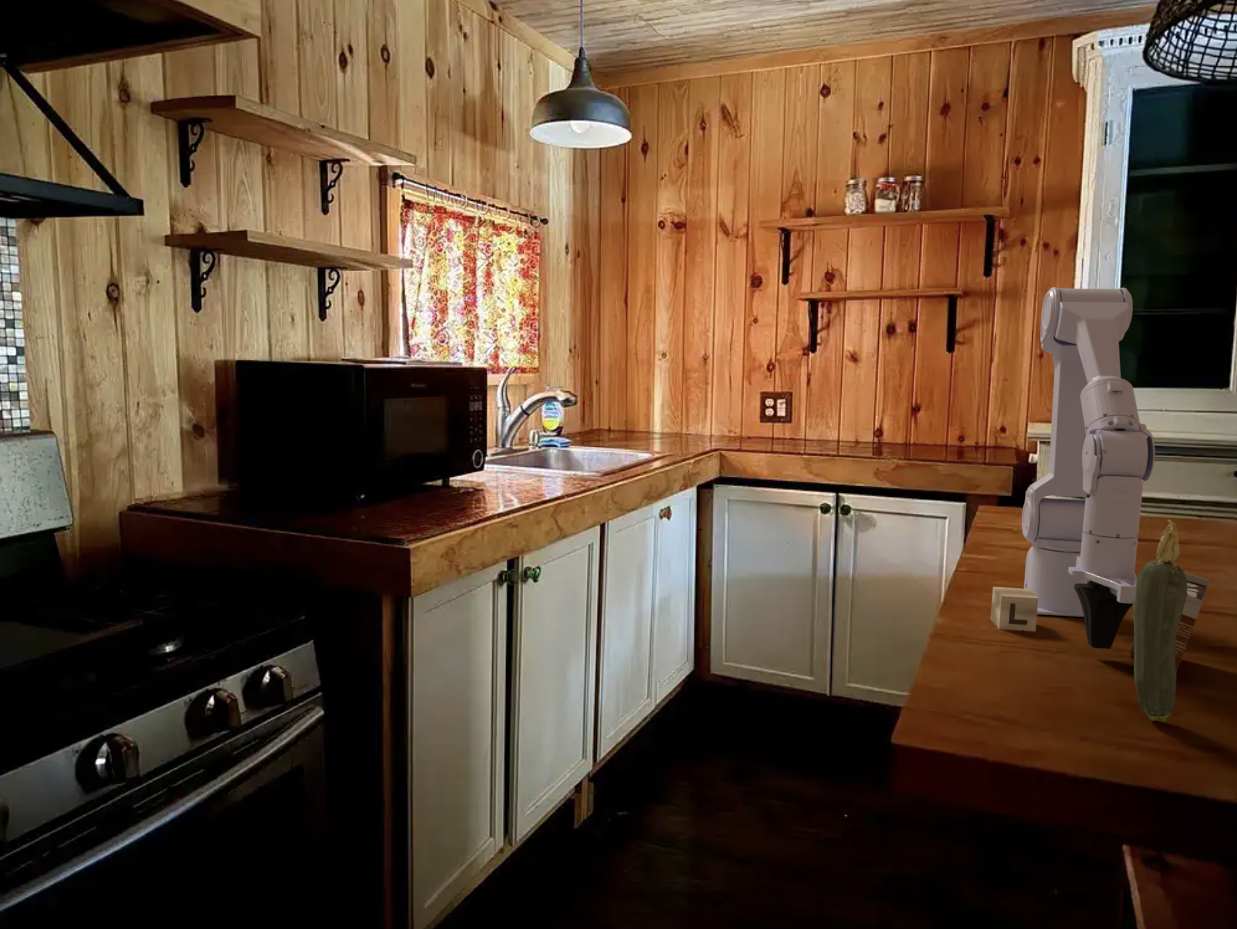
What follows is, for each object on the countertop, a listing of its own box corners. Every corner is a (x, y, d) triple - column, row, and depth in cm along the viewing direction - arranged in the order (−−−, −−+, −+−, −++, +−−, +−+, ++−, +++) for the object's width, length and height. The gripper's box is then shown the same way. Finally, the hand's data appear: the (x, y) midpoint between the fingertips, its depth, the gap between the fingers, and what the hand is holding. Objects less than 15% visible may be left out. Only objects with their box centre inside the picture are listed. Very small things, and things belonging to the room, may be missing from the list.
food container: (1126, 635, 115) (1153, 560, 113) (1182, 656, 112) (1210, 579, 110) (1110, 662, 105) (1139, 580, 103) (1171, 685, 102) (1202, 601, 100)
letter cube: (990, 619, 126) (993, 586, 125) (1025, 621, 125) (1028, 588, 124) (999, 630, 121) (1001, 596, 120) (1035, 632, 120) (1038, 598, 120)
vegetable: (1159, 734, 89) (1181, 527, 86) (1113, 718, 93) (1132, 519, 90) (1181, 723, 92) (1202, 523, 89) (1135, 709, 95) (1154, 515, 93)
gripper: (1054, 519, 116) (1045, 626, 118) (1095, 544, 102) (1084, 665, 104) (1114, 522, 115) (1104, 629, 117) (1165, 548, 101) (1152, 669, 103)
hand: (1099, 646), depth 110 cm, fingers closed
